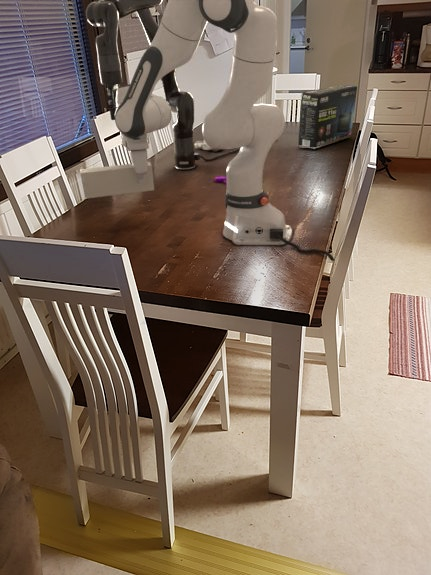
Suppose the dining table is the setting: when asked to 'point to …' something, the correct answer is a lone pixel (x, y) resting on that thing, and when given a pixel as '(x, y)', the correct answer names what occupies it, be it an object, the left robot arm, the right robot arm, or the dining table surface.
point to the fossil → (204, 146)
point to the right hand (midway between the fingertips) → (140, 180)
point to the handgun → (220, 179)
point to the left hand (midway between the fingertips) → (116, 117)
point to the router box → (326, 115)
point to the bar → (114, 181)
